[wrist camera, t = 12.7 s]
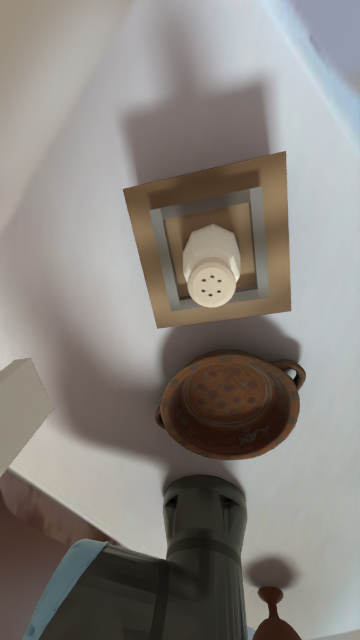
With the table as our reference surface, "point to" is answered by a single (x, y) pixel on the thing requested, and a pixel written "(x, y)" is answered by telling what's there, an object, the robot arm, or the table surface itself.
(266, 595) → the ice cream bowl
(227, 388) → the dish
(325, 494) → the table surface
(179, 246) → the display riser
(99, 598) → the robot arm
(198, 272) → the pepper shaker
